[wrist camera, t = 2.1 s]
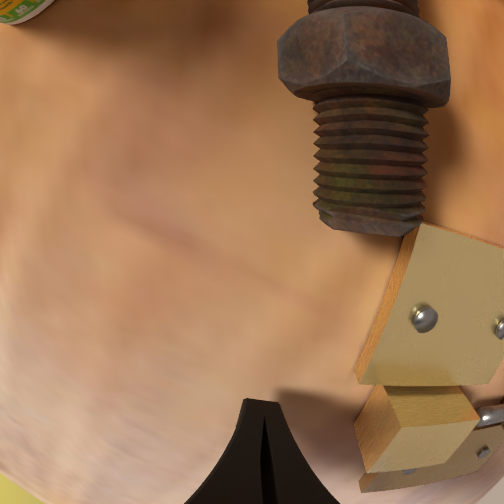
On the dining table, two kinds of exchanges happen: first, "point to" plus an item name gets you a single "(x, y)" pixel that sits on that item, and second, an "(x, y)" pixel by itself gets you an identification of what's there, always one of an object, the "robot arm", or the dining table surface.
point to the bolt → (367, 107)
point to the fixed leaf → (460, 462)
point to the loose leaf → (430, 349)
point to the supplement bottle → (21, 10)
